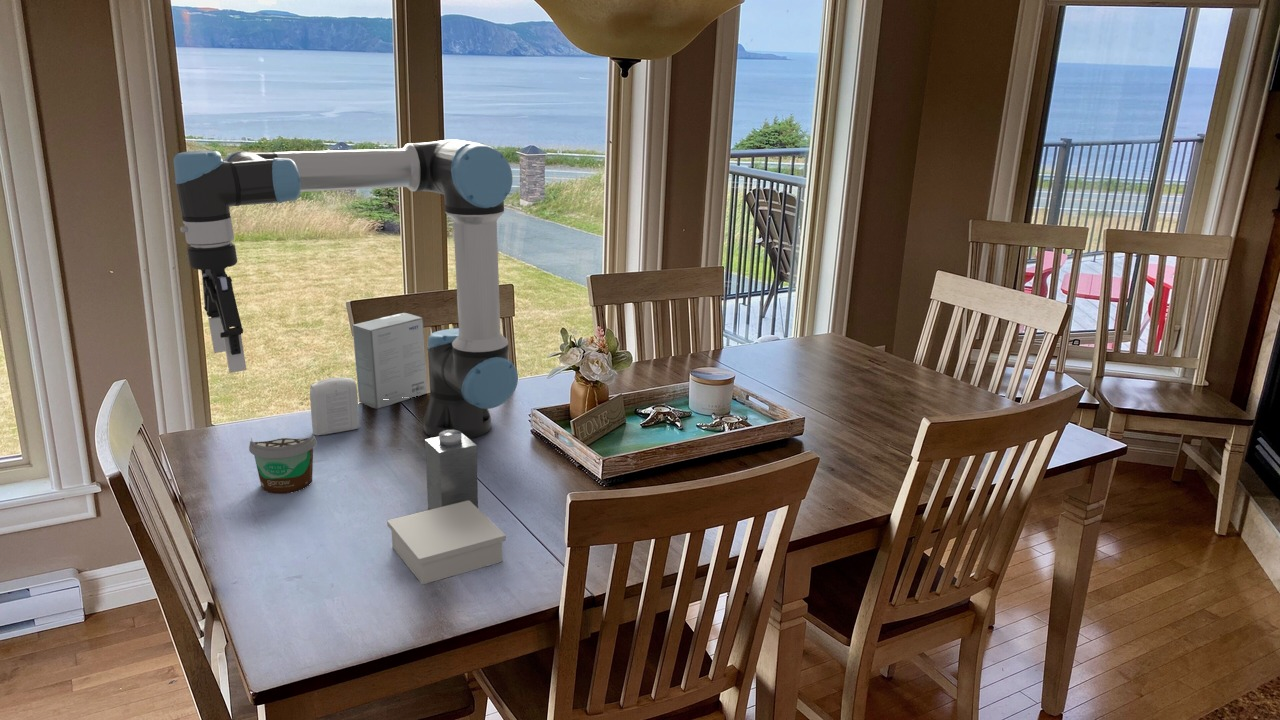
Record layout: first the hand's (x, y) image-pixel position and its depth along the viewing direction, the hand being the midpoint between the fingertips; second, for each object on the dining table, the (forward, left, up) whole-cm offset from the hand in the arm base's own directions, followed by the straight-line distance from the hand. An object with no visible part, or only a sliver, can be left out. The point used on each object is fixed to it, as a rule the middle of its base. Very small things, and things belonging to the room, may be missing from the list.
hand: (229, 361), depth 163 cm
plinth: (-24, +38, -28) cm, 53 cm away
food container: (-7, -1, -28) cm, 29 cm away
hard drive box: (-42, -40, -28) cm, 65 cm away
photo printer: (-24, -26, -28) cm, 45 cm away
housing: (-31, +24, -28) cm, 48 cm away
